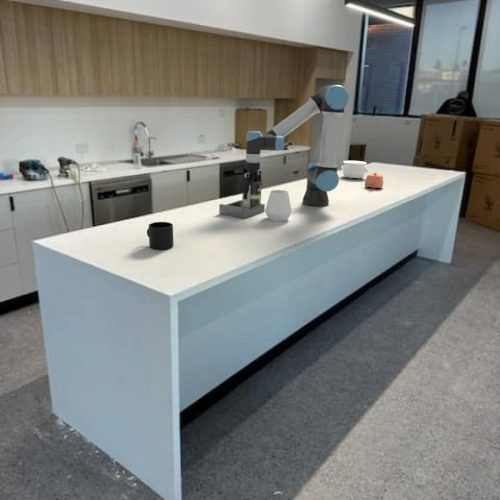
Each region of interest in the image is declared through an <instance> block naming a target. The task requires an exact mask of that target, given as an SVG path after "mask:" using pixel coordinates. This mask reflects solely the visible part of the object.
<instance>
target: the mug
mask: <svg viewBox="0 0 500 500" xmlns="http://www.w3.org/2000/svg"><path fill="white" fill-rule="evenodd" d="M146 234H147V235H146V236H147V237H148V242H149V243H148V244H149V245H148V247H149V248H150V249H152V248H153V249H152V250H155V249H156V251H164V250H165V251H166V250H169V249H172V248H173V247H174V224H173V223H172V222H168V221H154V222H151V223H149V224H148V228H147V231H146Z"/></svg>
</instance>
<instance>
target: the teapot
mask: <svg viewBox="0 0 500 500" xmlns="http://www.w3.org/2000/svg"><path fill="white" fill-rule="evenodd" d="M383 186H384V175H382V174H378V173H377V172H373V173H369V174H367V175H366V178H365V180H364V188H368V187H371V188H370V189H375V188H380V189H382V188H383ZM381 187H382V188H381Z"/></svg>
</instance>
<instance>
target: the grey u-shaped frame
mask: <svg viewBox="0 0 500 500" xmlns="http://www.w3.org/2000/svg"><path fill="white" fill-rule="evenodd" d="M218 207H219V209H218V210H219V215H222V216H227V217H232V218H238V219H247V218H252V217H254V216H256V215H259V214H261V213H264V212H265V209H266V204H265V203H261V204H260V205H257V206H254V207H251V208H248V209H246V208H242V199H239V200H236V201H233V202H230V203H227V204H223V203H220V204H219V206H218Z"/></svg>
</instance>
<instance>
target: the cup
mask: <svg viewBox="0 0 500 500" xmlns="http://www.w3.org/2000/svg"><path fill="white" fill-rule="evenodd" d="M292 210H293V209H292V204H291V198H290V195H289V191H287V190H281V189H274V190H271V191H270V193H269V196H268V200H267V203H266V204H265V211H264V212H265V214H266V216H267V218H268V220H269V221H272V220H273V221H272V222H286V221H288V219H289V218H290V216H292V212H293V211H292ZM285 220H286V221H285Z"/></svg>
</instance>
